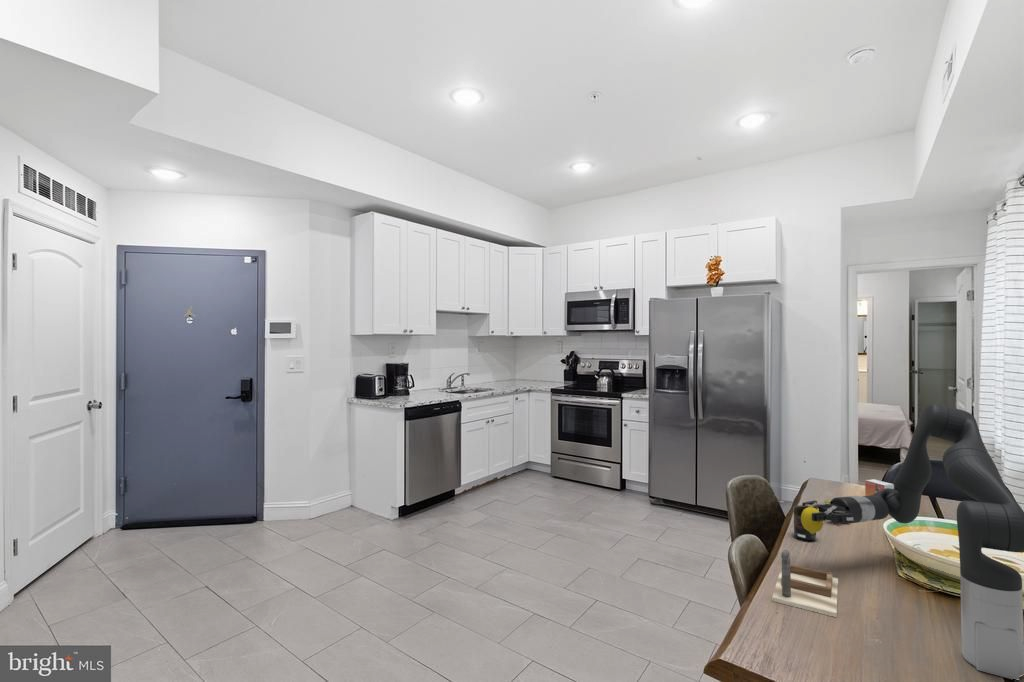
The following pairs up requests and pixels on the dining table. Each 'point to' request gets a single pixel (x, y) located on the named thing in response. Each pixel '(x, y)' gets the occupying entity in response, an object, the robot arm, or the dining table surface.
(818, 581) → the keeper board
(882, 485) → the small box
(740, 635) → the dining table surface
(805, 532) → the supplement container
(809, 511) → the lemon
